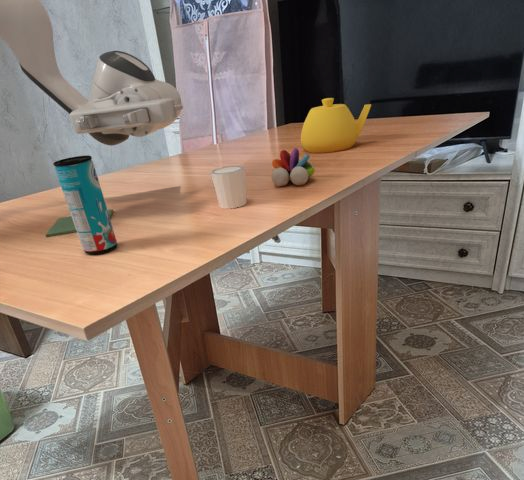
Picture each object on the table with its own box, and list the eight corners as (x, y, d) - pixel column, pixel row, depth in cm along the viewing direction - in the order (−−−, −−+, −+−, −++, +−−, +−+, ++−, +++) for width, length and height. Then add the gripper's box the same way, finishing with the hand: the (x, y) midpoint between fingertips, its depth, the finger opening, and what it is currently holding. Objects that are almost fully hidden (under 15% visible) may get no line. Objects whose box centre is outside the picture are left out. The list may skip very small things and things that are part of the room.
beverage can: (117, 251, 80) (89, 159, 72) (82, 258, 79) (49, 165, 71) (119, 241, 85) (93, 153, 77) (86, 247, 84) (56, 159, 76)
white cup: (240, 197, 100) (235, 163, 96) (255, 203, 95) (250, 167, 91) (211, 205, 98) (205, 170, 94) (224, 212, 92) (218, 175, 89)
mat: (46, 237, 93) (45, 234, 93) (59, 220, 103) (58, 218, 103) (106, 227, 94) (105, 224, 94) (113, 211, 104) (112, 209, 104)
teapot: (298, 156, 131) (294, 105, 124) (305, 143, 146) (302, 98, 139) (371, 149, 126) (371, 96, 120) (370, 137, 142) (370, 89, 135)
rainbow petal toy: (279, 178, 111) (276, 146, 107) (319, 176, 107) (317, 143, 103) (267, 188, 104) (263, 154, 100) (309, 186, 101) (307, 151, 97)
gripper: (189, 123, 92) (161, 135, 81) (99, 133, 97) (61, 146, 86) (182, 87, 89) (152, 95, 78) (89, 99, 94) (48, 108, 83)
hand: (103, 122), depth 82 cm, fingers open, 8 cm apart
